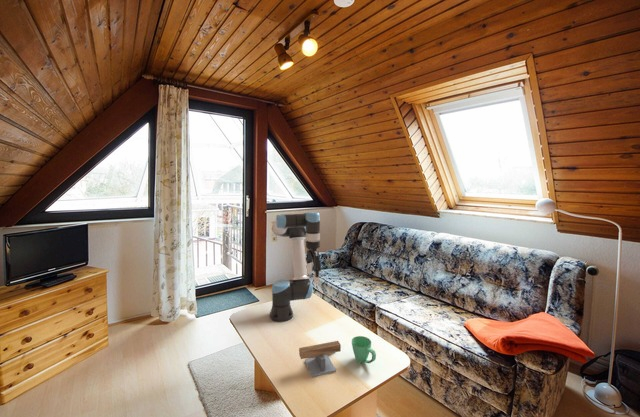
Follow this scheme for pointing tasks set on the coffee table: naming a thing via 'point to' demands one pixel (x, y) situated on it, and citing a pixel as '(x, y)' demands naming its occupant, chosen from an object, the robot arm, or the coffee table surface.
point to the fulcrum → (320, 365)
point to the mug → (362, 349)
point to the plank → (319, 349)
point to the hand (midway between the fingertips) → (313, 278)
